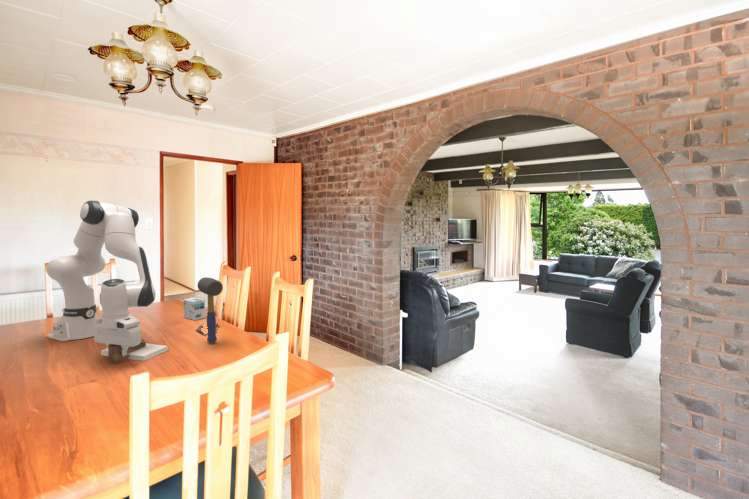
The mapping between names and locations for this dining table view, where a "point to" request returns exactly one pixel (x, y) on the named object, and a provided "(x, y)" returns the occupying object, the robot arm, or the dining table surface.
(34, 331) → the dining table surface
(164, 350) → the board
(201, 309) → the light bulb box
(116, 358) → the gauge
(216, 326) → the wooden fragment
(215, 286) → the rubber mallet
